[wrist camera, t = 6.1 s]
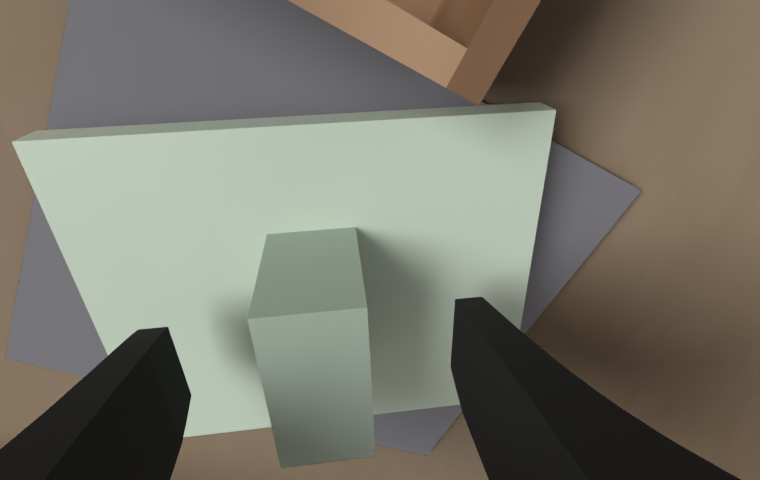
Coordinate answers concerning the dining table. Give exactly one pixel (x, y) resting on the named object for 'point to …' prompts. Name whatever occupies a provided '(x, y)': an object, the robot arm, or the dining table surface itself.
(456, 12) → the box
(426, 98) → the mat
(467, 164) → the lid
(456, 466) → the dining table surface
